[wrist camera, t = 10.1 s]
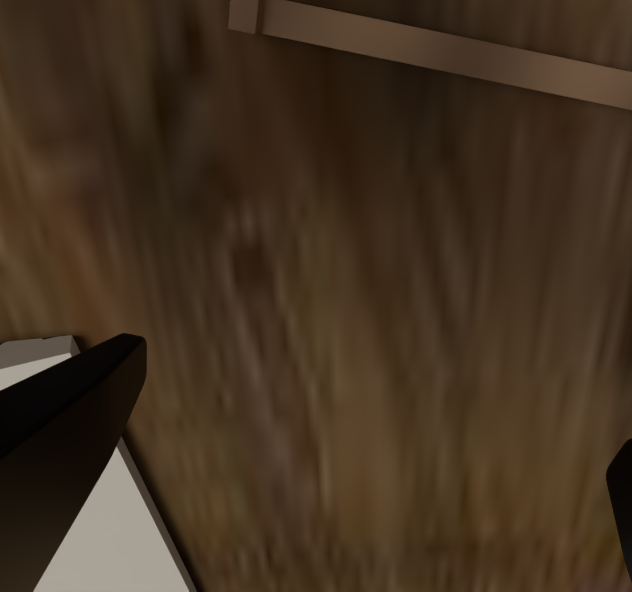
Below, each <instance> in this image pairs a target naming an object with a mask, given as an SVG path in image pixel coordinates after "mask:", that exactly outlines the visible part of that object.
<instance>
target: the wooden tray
mask: <svg viewBox="0 0 632 592" xmlns="http://www.w3.org/2000/svg"><path fill="white" fill-rule="evenodd" d="M228 29H231V30H236V31H241V32H245V33H250V34H267V35H271V36H276V37H281V38H286V39H291V40H296V41H300V42H305V43H310V44H315V45H320V46H325V47H329V48H334V49H339V50H344V51H349V52H354V53H358V54H363V55H368V56H373V57H378V58H382V59H387V60H392V61H397V62H402V63H407V64H411V65H416V66H421V67H426V68H431V69H436V70H440V71H445V72H450V73H455V74H460V75H465V76H469V77H474V78H479V79H484V80H489V81H493V82H498V83H503V84H508V85H513V86H518V87H522V88H527V89H532V90H537V91H542V92H547V93H551V94H556V95H561V96H566V97H571V98H576V99H580V100H585V101H590V102H595V103H600V104H604V105H609V106H614V107H619V108H624V109H629V110H632V72H630V71H625V70H620V69H616V68H611V67H606V66H601V65H596V64H591V63H587V62H582V61H577V60H572V59H567V58H562V57H558V56H553V55H548V54H543V53H538V52H533V51H529V50H524V49H519V48H514V47H509V46H505V45H500V44H495V43H490V42H485V41H480V40H476V39H471V38H466V37H461V36H456V35H451V34H447V33H442V32H437V31H432V30H427V29H423V28H418V27H413V26H408V25H403V24H398V23H394V22H389V21H384V20H379V19H374V18H369V17H365V16H360V15H355V14H350V13H345V12H340V11H336V10H331V9H326V8H321V7H316V6H312V5H307V4H302V3H297V2H292V1H287V0H230V11H229V24H228Z"/></svg>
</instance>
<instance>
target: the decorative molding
mask: <svg viewBox="0 0 632 592" xmlns="http://www.w3.org/2000/svg"><path fill="white" fill-rule="evenodd" d="M79 353H80V351H79V348H78V346H77V344H76V342H75V340H74V338H73V336H72V335H69V336H59V337H53V338H49V339H44V340H43V339H42V338H39V339H28V340H18V341H8V342H5V343H3V344H1V345H0V390H2V389H4V388H7V387H9V386H11V385H13V384H15V383H17V382H19V381H21V380H24V379H26V378H28V377H30V376H32V375H34V374H36V373H38V372H41V371H43V370H45V369H47V368H49V367H51V366H53V365H55V364H58V363H60V362H62V361H64V360H66V359H68V358H70V357H72V356H75V355H77V354H79ZM33 592H197V590H196V588H195V586H194V584H193V582H192V580H191V578H190V576H189V574H188V572H187V570H186V568H185V566H184V564H183V562H182V560H181V557H180V555H179V553H178V551H177V549H176V547H175V545H174V543H173V541H172V539H171V537H170V535H169V533H168V531H167V529H166V527H165V525H164V523H163V521H162V519H161V517H160V514H159V512H158V510H157V508H156V506H155V504H154V502H153V500H152V498H151V496H150V494H149V492H148V490H147V488H146V486H145V484H144V482H143V480H142V478H141V476H140V473H139V471H138V469H137V467H136V465H135V463H134V461H133V459H132V457H131V455H130V453H129V451H128V449H127V447H126V445H125V443H124V441H123V439H122V437H121V438H120V440H119V442H118V444H117V446H116V449H115V451H114V453H113V455H112V457H111V459H110V461H109V463H108V464H107V466H106V468H105V470H104V471H103V473H102V475H101V477H100V478H99V480H98V482H97V483H96V485H95V487H94V489H93V490H92V492H91V494H90V495H89V497H88V499H87V501H86V502H85V504H84V506H83V507H82V509H81V511H80V513H79V514H78V516H77V518H76V519H75V521H74V523H73V524H72V526H71V528H70V530H69V531H68V533H67V535H66V536H65V538H64V540H63V542H62V543H61V545H60V547H59V548H58V550H57V552H56V554H55V555H54V557H53V559H52V560H51V562H50V564H49V566H48V567H47V569H46V571H45V572H44V574H43V576H42V578H41V579H40V581H39V583H38V584H37V586H36V588H35V589H34V591H33Z"/></svg>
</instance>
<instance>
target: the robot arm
mask: <svg viewBox="0 0 632 592" xmlns="http://www.w3.org/2000/svg"><path fill="white" fill-rule="evenodd" d="M146 372H147V343H146V340H145V339H144V338H143V337H142V336H137V335H132V334H127V333H122V334H119V335H117V336H115V337H113V338H111V339H109V340H107V341H104V342H102V343H100V344H98V345H96V346H94V347H92V348H90V349H87V350H85V351H83V352H81V353H79V354H77V355H75V356H72V357H70V358H68V359H66V360H64V361H62V362H60V363H58V364H55V365H53V366H51V367H49V368H47V369H45V370H43V371H41V372H38V373H36V374H34V375H32V376H30V377H28V378H26V379H24V380H21V381H19V382H17V383H15V384H13V385H11V386H9V387H7V388H4V389H2V390H0V592H33V591H34V589H35V588H36V586H37V584H38V583H39V581H40V579H41V578H42V576H43V574H44V572H45V571H46V569H47V567H48V566H49V564H50V562H51V560H52V559H53V557H54V555H55V554H56V552H57V550H58V548H59V547H60V545H61V543H62V542H63V540H64V538H65V536H66V535H67V533H68V531H69V530H70V528H71V526H72V524H73V523H74V521H75V519H76V518H77V516H78V514H79V513H80V511H81V509H82V507H83V506H84V504H85V502H86V501H87V499H88V497H89V495H90V494H91V492H92V490H93V489H94V487H95V485H96V483H97V482H98V480H99V478H100V477H101V475H102V473H103V471H104V470H105V468H106V466H107V464H108V463H109V461H110V459H111V457H112V455H113V453H114V451H115V449H116V446H117V444H118V442H119V440H120V438H121V435H122V433H123V431H124V428H125V426H126V424H127V422H128V419H129V417H130V415H131V412H132V410H133V408H134V406H135V403H136V401H137V399H138V396H139V394H140V392H141V390H142V387H143V385H144V382H145V379H146ZM606 481H607V486H608V490H609V495H610V499H611V503H612V508H613V512H614V517H615V521H616V526H617V530H618V534H619V539H620V543H621V548H622V552H623V555H624V559H625V563H626V566H627V570H628V573H629V576H630V579H631V582H632V438H631V439H629V440H627V441H626V442H625V443H624V445H623V446H622V448H621V449H620V450H619V452H618V453H617V455H616V456H615V458H614V459H613V461H612V462H611V463H610V465H609V467H608V469H607V473H606Z"/></svg>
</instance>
